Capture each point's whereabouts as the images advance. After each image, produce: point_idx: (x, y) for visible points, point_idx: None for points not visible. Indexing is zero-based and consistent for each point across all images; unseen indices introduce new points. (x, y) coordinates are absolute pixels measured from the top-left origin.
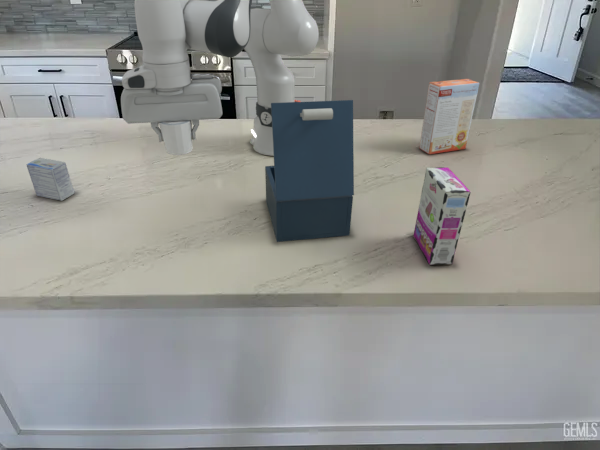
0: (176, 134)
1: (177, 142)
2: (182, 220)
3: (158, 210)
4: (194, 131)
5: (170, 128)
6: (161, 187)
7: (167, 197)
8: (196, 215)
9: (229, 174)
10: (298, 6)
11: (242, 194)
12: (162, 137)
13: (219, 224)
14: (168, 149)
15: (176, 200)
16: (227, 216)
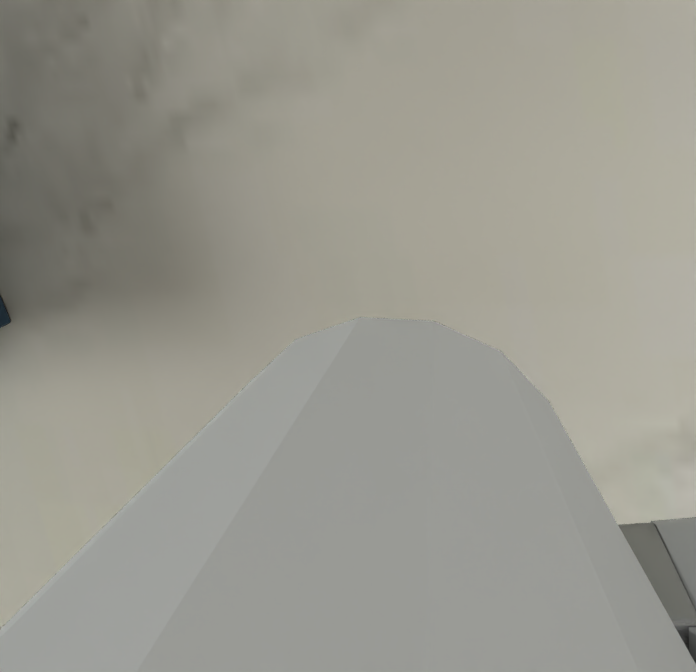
0: (249, 473)
1: (308, 389)
2: (429, 96)
3: (610, 224)
4: None
5: (348, 597)
6: (629, 503)
7: (574, 385)
8: (353, 164)
9: None
10: None
11: (151, 404)
12: (645, 569)
13: (192, 54)
14: (511, 375)
15: (511, 348)
16: (169, 156)
